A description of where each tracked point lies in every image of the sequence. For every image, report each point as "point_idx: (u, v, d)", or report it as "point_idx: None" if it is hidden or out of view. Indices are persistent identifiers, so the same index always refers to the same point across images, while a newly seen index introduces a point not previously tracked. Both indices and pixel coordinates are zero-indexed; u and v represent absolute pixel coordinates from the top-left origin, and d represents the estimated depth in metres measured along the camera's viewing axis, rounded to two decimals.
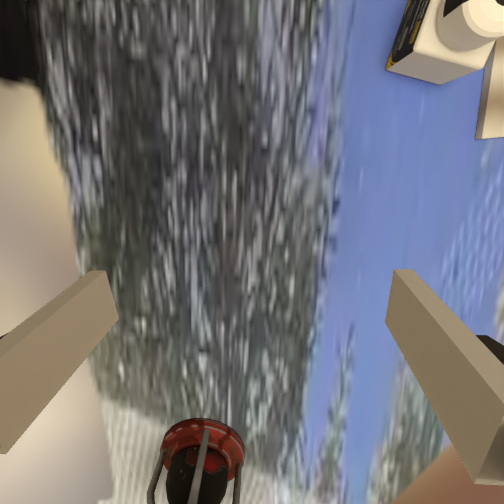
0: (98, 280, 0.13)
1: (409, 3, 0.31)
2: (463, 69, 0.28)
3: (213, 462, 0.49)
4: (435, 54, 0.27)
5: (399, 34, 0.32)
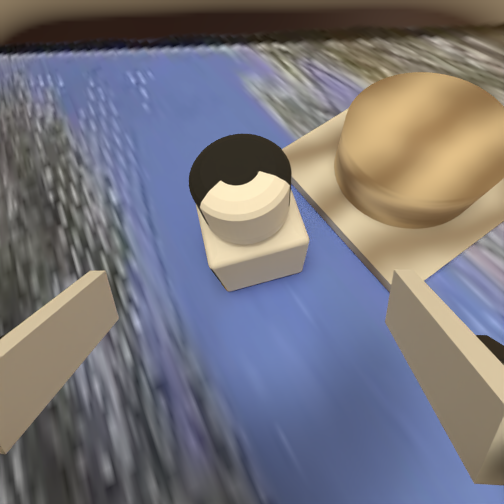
0: (98, 280, 0.13)
1: None
2: (292, 252, 0.20)
3: None
4: (239, 258, 0.19)
5: None
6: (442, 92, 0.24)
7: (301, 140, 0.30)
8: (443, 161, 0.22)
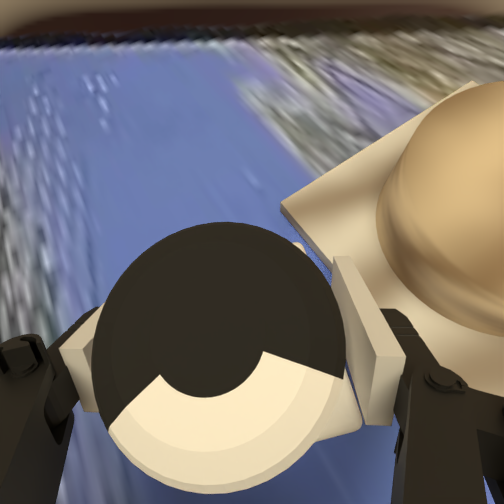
0: None
1: None
2: None
3: None
4: None
5: None
6: None
7: (323, 179, 0.20)
8: None
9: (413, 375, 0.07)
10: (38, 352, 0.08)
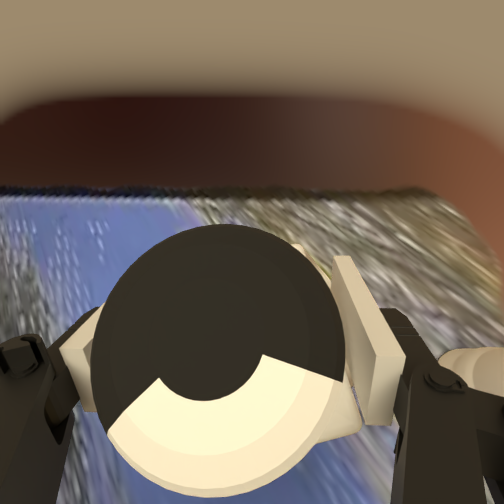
0: None
1: None
2: None
3: None
4: None
5: None
6: None
7: None
8: None
9: (413, 375, 0.07)
10: (38, 352, 0.08)
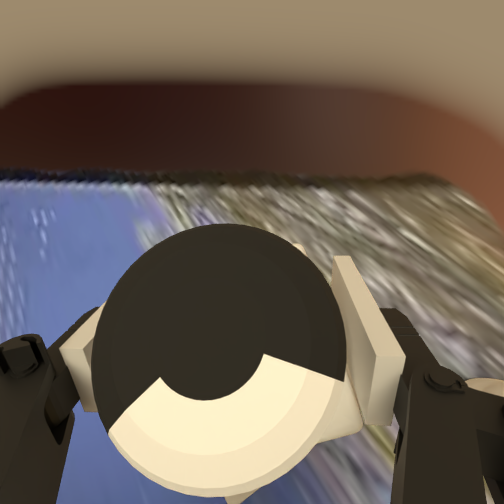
0: None
1: None
2: None
3: None
4: None
5: None
6: None
7: None
8: None
9: (413, 375, 0.07)
10: (38, 352, 0.08)
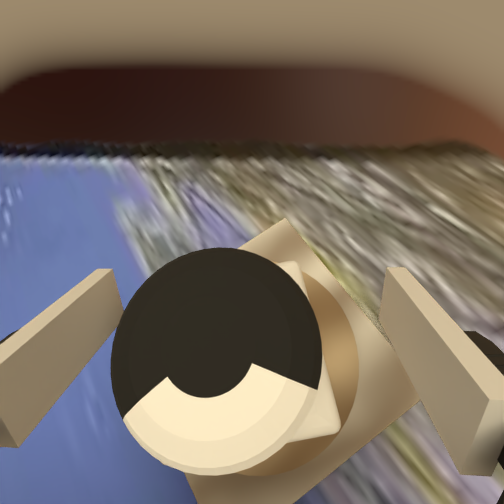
0: (105, 278, 0.13)
1: None
2: None
3: None
4: None
5: None
6: None
7: None
8: None
9: None
10: None
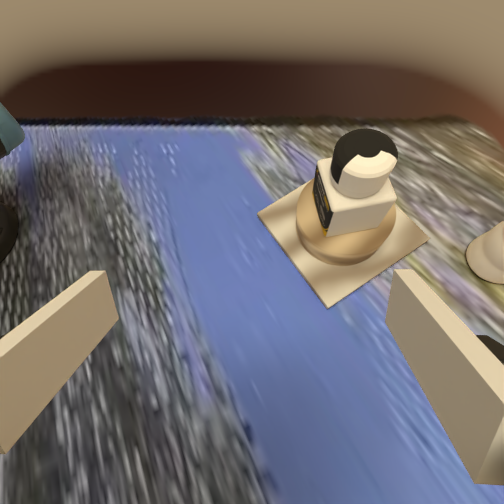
0: (98, 280, 0.13)
1: (313, 194, 0.39)
2: (383, 206, 0.32)
3: None
4: (352, 206, 0.31)
5: (318, 212, 0.37)
6: None
7: (276, 203, 0.46)
8: None
9: None
10: None
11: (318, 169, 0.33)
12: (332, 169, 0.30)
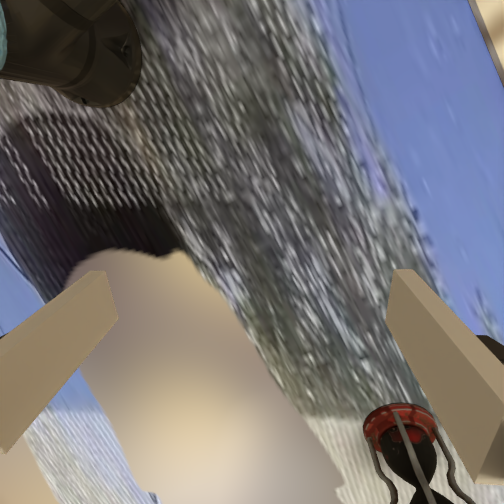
0: (98, 280, 0.13)
1: None
2: None
3: (414, 434, 0.60)
4: None
5: None
6: None
7: None
8: None
9: None
10: None
11: None
12: None
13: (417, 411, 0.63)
